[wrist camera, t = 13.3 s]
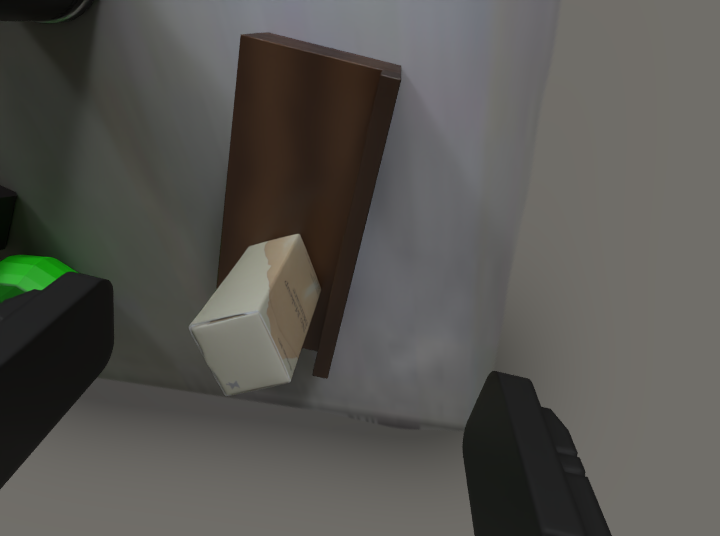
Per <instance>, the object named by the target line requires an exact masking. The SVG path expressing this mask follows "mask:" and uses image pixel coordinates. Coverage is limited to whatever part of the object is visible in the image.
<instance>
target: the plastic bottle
mask: <svg viewBox="0 0 720 536" xmlns="http://www.w3.org/2000/svg"><path fill="white" fill-rule="evenodd" d="M66 272H76V271H75V270H73V269H72V268H70V267H69V266H67V265H66V264H64V263H62V262H61V261H59V260H58V259H55V258H52V257H42V256H31V255H13V256H9V257H7V258H5V259H3V260H2V261H0V303H1V302H3V301H4V300H6V299H9V298H12V297H14V296H17V295H20V294H22V293H25V292H28V291H30V290H33V289H37V290H43V289H44V288H45V287H47V286H48V285H49V284H51V283H52V282H53V281H55V280H56V279H58V278H59V277H60V276H62V275H63V274H65V273H66ZM76 273H78V272H76Z"/></svg>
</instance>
